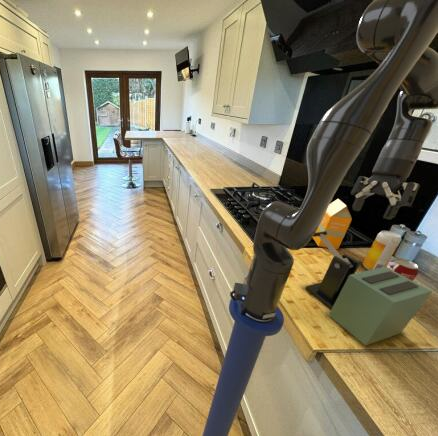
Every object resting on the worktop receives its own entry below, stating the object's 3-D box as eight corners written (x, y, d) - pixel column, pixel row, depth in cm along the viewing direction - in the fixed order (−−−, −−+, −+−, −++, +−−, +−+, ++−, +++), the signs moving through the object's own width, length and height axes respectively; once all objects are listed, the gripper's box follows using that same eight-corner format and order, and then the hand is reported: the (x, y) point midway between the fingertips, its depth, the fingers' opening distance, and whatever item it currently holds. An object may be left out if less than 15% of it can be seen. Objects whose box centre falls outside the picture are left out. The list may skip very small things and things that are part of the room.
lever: (309, 235, 76) (315, 231, 74) (321, 233, 78) (326, 229, 76) (338, 271, 69) (345, 268, 67) (350, 269, 70) (357, 265, 68)
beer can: (375, 264, 92) (394, 231, 86) (386, 274, 87) (407, 239, 80) (358, 262, 93) (375, 229, 87) (368, 271, 88) (387, 237, 81)
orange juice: (317, 246, 103) (335, 204, 94) (311, 236, 111) (327, 196, 102) (338, 249, 101) (358, 207, 92) (330, 239, 109) (348, 199, 100)
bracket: (304, 288, 78) (320, 251, 72) (322, 284, 81) (339, 248, 74) (334, 311, 70) (355, 272, 63) (353, 306, 72) (375, 267, 66)
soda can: (407, 299, 76) (428, 269, 70) (388, 299, 75) (407, 269, 70) (386, 284, 82) (404, 256, 76) (368, 285, 81) (385, 256, 76)
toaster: (328, 315, 69) (349, 274, 62) (361, 305, 72) (385, 265, 66) (365, 345, 60) (395, 301, 53) (401, 333, 64) (433, 290, 57)
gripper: (359, 155, 71) (337, 206, 75) (419, 157, 57) (388, 220, 61) (378, 160, 72) (355, 210, 76) (440, 163, 59) (409, 224, 63)
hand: (370, 214), depth 69 cm, fingers open, 8 cm apart
